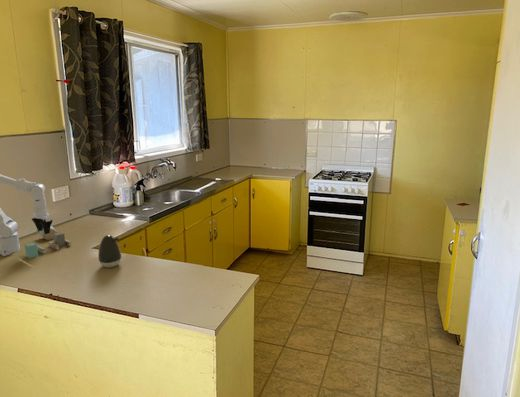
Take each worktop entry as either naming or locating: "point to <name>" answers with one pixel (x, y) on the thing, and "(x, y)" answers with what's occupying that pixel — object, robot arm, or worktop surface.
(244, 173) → the worktop surface
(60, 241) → the grey plug
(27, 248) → the teal plug
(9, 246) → the robot arm
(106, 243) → the dark grey egg shape
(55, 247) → the brown tray
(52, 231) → the ceramic mug
